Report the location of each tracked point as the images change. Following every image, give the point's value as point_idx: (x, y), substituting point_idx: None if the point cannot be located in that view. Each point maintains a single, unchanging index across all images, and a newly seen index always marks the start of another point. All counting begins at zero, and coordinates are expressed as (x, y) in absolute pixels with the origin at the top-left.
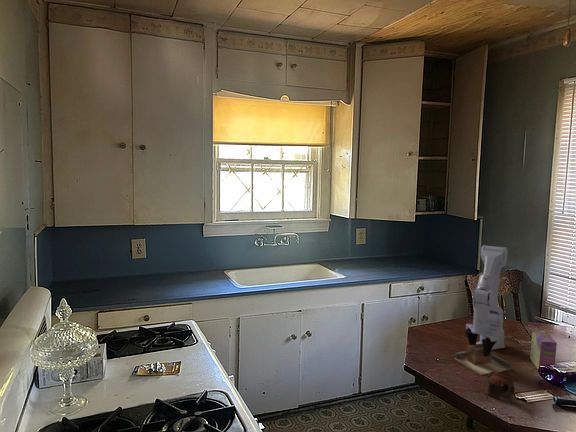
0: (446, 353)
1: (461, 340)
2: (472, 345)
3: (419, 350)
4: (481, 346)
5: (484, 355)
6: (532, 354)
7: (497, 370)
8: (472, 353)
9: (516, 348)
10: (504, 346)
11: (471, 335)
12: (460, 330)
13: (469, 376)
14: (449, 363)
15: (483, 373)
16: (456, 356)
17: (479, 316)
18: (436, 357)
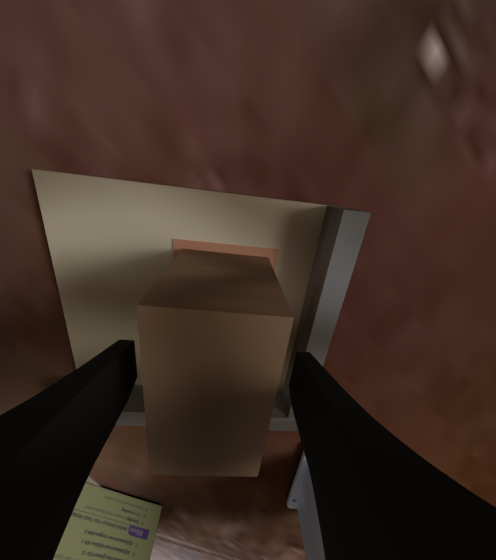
0: (435, 227)
1: (458, 422)
2: (268, 370)
3: None
4: (206, 424)
5: (119, 343)
6: (126, 542)
7: (66, 317)
8: (202, 281)
9: (260, 521)
10: (289, 506)
11: (368, 525)
12: None
13: (33, 37)
14: (313, 91)
15: (39, 193)
16: (334, 207)
17: None
18: (458, 77)
